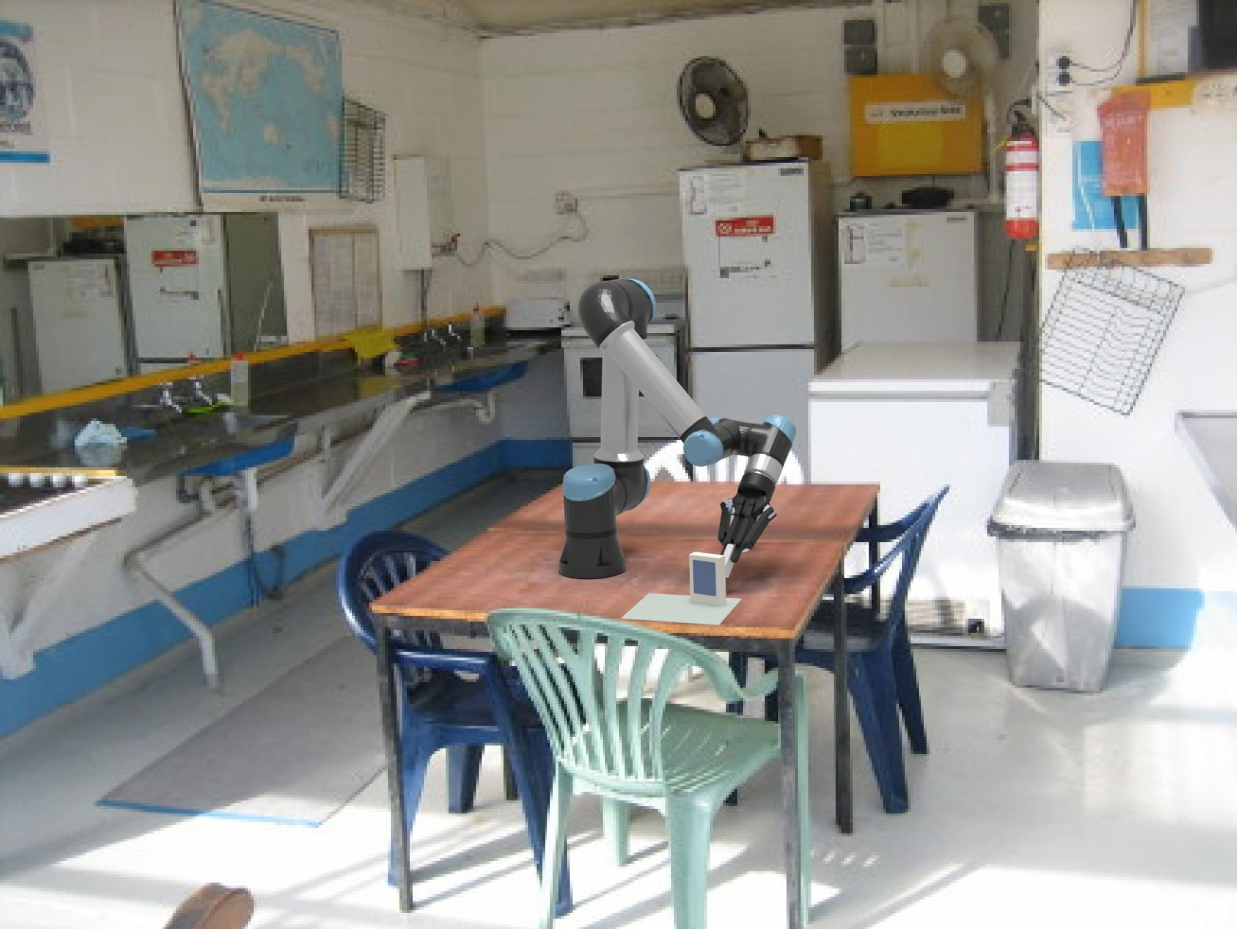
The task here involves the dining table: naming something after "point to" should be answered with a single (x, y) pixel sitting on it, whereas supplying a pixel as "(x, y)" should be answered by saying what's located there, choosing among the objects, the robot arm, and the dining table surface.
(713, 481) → the dining table surface
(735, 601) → the mat
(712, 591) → the box
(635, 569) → the dining table surface
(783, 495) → the dining table surface
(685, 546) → the dining table surface
